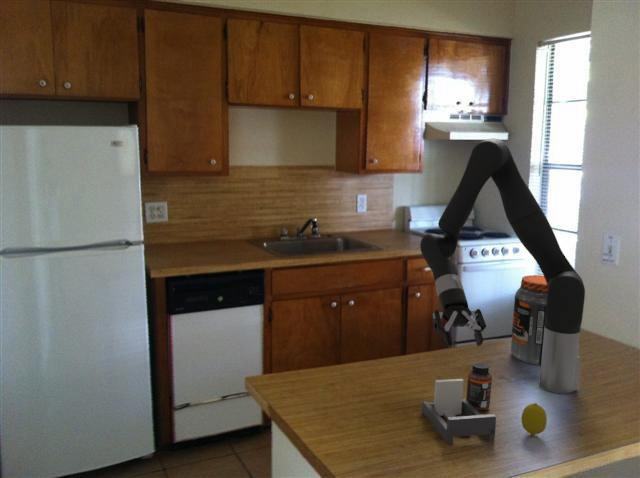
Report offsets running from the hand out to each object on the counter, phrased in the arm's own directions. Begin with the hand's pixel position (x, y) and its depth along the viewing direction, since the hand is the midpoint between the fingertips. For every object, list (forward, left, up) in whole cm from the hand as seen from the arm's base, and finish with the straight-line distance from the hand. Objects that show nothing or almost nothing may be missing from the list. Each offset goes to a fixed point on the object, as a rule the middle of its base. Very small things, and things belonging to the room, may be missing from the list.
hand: (465, 345), depth 157 cm
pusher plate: (+10, +18, -13) cm, 24 cm away
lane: (+10, +18, -13) cm, 25 cm away
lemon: (-6, +25, -13) cm, 29 cm away
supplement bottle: (0, +9, -14) cm, 16 cm away
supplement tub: (-35, -21, -14) cm, 43 cm away
